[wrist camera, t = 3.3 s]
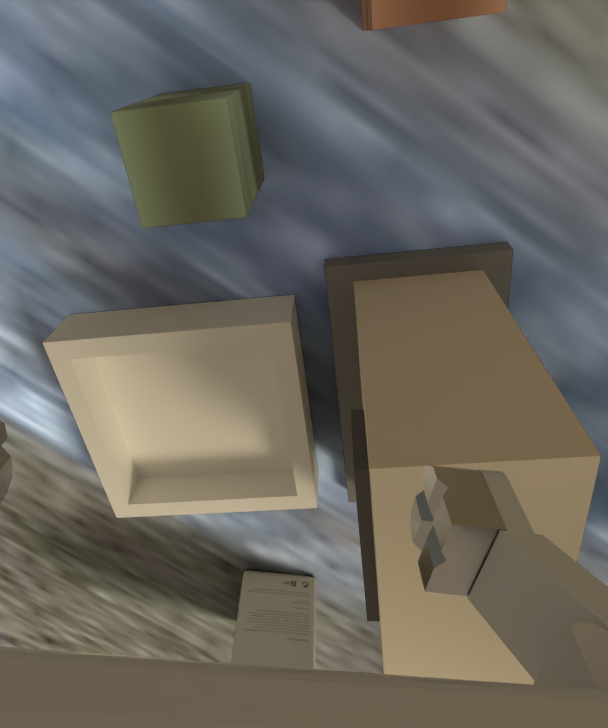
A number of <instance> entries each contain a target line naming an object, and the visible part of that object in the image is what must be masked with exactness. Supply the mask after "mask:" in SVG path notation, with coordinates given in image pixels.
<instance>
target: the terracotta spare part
mask: <svg viewBox="0 0 608 728" xmlns="http://www.w3.org/2000/svg"><path fill="white" fill-rule="evenodd" d="M506 3H507V0H361V10H362V30H376V29H383V28H391V27H398V26H405V25H413V24H420V23H428V22H435V21H442V20H450V19H457V18H465V17H472V16H479V15H487V14H494V13H502V12H506Z"/></svg>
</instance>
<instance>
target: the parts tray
mask: <svg viewBox="0 0 608 728" xmlns="http://www.w3.org/2000/svg"><path fill="white" fill-rule="evenodd" d="M43 345H44V348H45V350H46V352H47V355H48V357H49V359H50V362H51V364H52V366H53V369H54V371H55V374H56V376H57V378H58V381H59V383H60V385H61V388H62V390H63V392H64V395H65V397H66V399H67V402H68V404H69V407H70V409H71V411H72V414H73V416H74V418H75V421H76V423H77V425H78V428H79V430H80V433H81V435H82V437H83V440H84V442H85V444H86V447H87V449H88V451H89V454H90V456H91V459H92V461H93V463H94V466H95V468H96V470H97V473H98V475H99V477H100V480H101V482H102V484H103V487H104V489H105V492H106V494H107V496H108V499H109V501H110V503H111V506H112V508H113V510H114V513H115V515H116V518H124V517H144V516H164V515H184V514H204V513H224V512H244V511H265V510H285V509H305V508H317V505H318V464H317V457H316V450H315V442H314V435H313V428H312V420H311V413H310V406H309V398H308V391H307V384H306V376H305V369H304V362H303V354H302V347H301V340H300V332H299V325H298V318H297V310H296V303H295V296H294V295H284V296H273V297H262V298H251V299H239V300H228V301H217V302H206V303H194V304H183V305H172V306H161V307H149V308H138V309H127V310H116V311H104V312H93V313H82V314H71V315H68V316H67V317H66V318H65V319H64V320H63V321H62V322H61V323H60V324H59V325H58V327H57V328H56V329H55V330H54V331H53V332H52V333H51V334H50V335H49V336H48V337H47V338H46V340H45V341H44V342H43Z"/></svg>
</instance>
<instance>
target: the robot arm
mask: <svg viewBox="0 0 608 728" xmlns="http://www.w3.org/2000/svg"><path fill="white" fill-rule="evenodd" d="M6 439H7V433H6V428H5V424H4V423H3V422H1V421H0V503H1V502H2V500H3V498H4V497H5V495H6V494H7V491H8V488H9V485H10V482H11V478H12V460H11V455H10V454H9V453H8V452H7V451H6V450H5V449H4V448H3V447H2V444H3V443H4V442H5V440H6ZM421 482H422V485H423V489H424V490H423V491H422V492H420V493H419V494H418V495H416V496H415V499H414V502H413V506H412V509H411V520H410V525H411V534H412V539H413V543H414V544H415V545H416V546H417V547H418V548H419V549H420V550H421V551H422V552H421V554H420V557H419V560H418V565H419V569H420V574H421V578H422V582H423V586H424V590H425V591H426V592H434V593H443V594H452V595H461V596H468V600H469V601H470V602H471V603H472V605H473V606H474V607H475V608H476V610H477V611H478V612H479V613H480V614H481V616H482V617H483V618H484V619H485V621H486V622H487V623H488V624H489V626H490V627H491V628H492V629H493V630H494V632H495V633H496V634H497V635H498V637H499V638H500V639H501V640H502V642H503V643H504V644H505V645H506V646H507V648H508V649H509V650H510V651H511V653H512V654H513V655H514V656H515V658H516V659H517V660H518V661H519V662H520V664H521V665H522V666H523V667H524V669H525V670H526V671H527V672H528V674H529V675H530V676H531V677H532V678H533V680H534V681H535V682H534V684H533V685H531V684H517V683H503V682H489V681H476V680H462V679H448V678H434V677H420V676H406V675H391V674H377V673H363V672H349V671H334V670H320V669H306V668H292V667H277V666H263V665H249V664H235V663H221V662H207V661H193V660H179V659H165V658H151V657H137V656H123V655H109V654H95V653H82V652H68V651H54V650H40V649H26V648H12V647H0V728H608V587H607V586H606V585H605V584H603V583H602V582H601V581H600V580H598V579H597V578H596V577H595V576H593V575H592V574H591V573H590V572H588V571H587V570H586V569H585V568H583V567H582V566H581V565H580V564H578V563H577V562H576V561H575V560H573V559H572V558H571V557H570V556H568V555H567V554H566V553H565V552H563V551H562V550H561V549H560V548H559V547H557V546H556V545H555V544H554V543H552V542H551V541H550V540H549V539H547V538H546V537H545V536H544V535H541V534H535V533H534V531H533V529H532V527H531V524H530V522H529V520H528V518H527V516H526V514H525V512H524V510H523V508H522V506H521V504H520V502H519V500H518V498H517V496H516V494H515V492H514V490H513V488H512V486H511V484H510V482H509V480H508V478H507V476H506V475H505V474H504V473H503V472H502V471H491V470H479V469H477V470H473V469H463V468H453V467H443V466H433V465H428V466H427V468H426V469H425V470H424V473H423V476H422V478H421Z"/></svg>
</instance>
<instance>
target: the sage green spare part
mask: <svg viewBox="0 0 608 728" xmlns="http://www.w3.org/2000/svg"><path fill="white" fill-rule="evenodd" d="M110 114H111V117H112V121H113V124H114V128H115V132H116V135H117V139H118V142H119V146H120V150H121V153H122V157H123V161H124V164H125V168H126V171H127V175H128V179H129V182H130V186H131V189H132V193H133V197H134V200H135V204H136V207H137V211H138V215H139V218H140V222H141V225H142V228H149V227H158V226H168V225H177V224H187V223H197V222H206V221H216V220H226V219H235V218H245V217H247V215H248V213H249V211H250V209H251V206H252V204H253V202H254V200H255V198H256V195H257V193H258V191H259V189H260V187H261V184H262V182H263V180H264V173H263V166H262V159H261V153H260V146H259V139H258V133H257V126H256V119H255V113H254V106H253V99H252V92H251V86H250V82H249V83H241V84H233V85H226V86H218V87H210V88H202V89H195V90H187V91H179V92H171V93H163V94H158V95H156V96H153V97H150V98H148V99H145V100H142V101H140V102H137V103H134V104H131V105H129V106H126V107H123V108H121V109H118V110H115V111H113V112H110Z"/></svg>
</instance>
